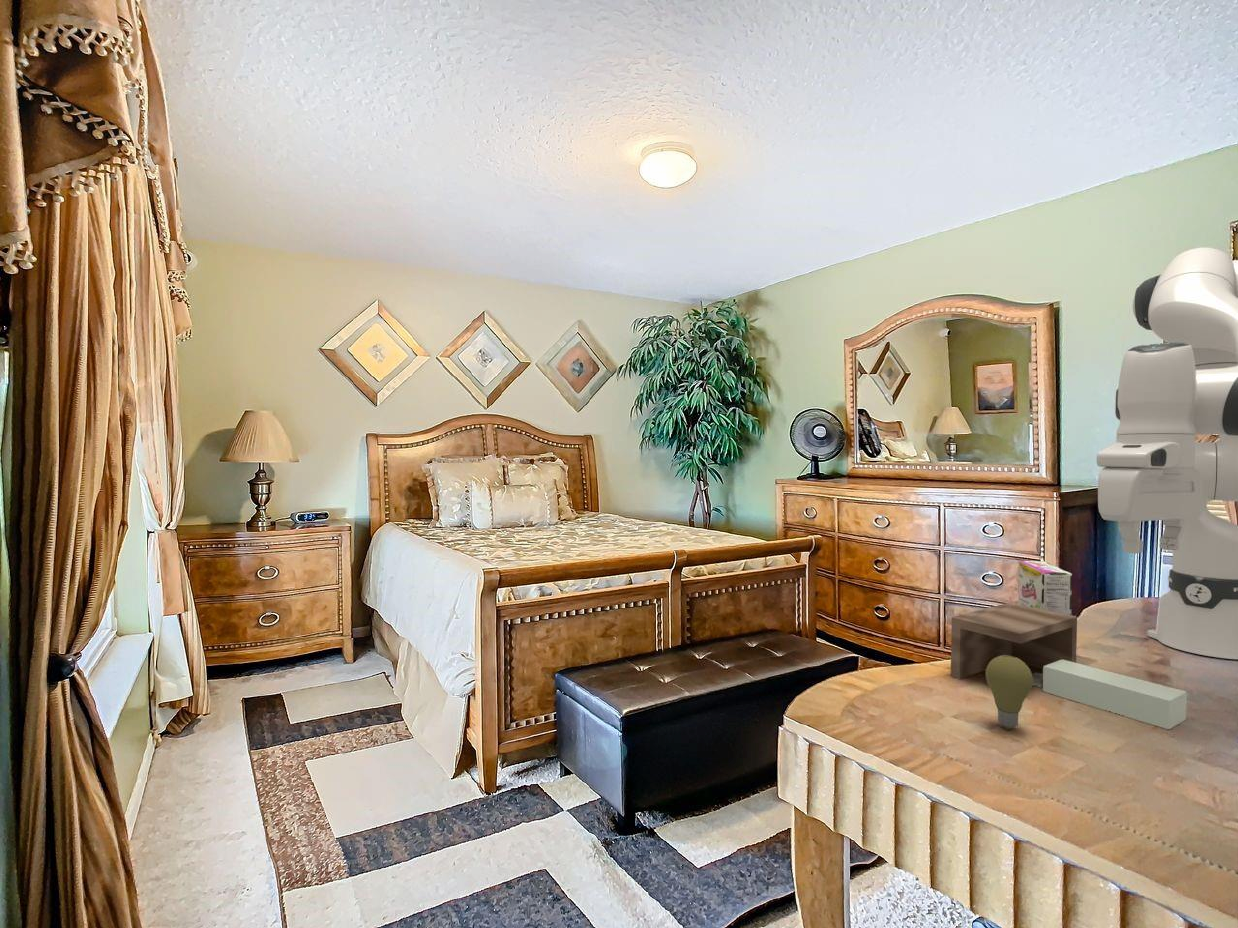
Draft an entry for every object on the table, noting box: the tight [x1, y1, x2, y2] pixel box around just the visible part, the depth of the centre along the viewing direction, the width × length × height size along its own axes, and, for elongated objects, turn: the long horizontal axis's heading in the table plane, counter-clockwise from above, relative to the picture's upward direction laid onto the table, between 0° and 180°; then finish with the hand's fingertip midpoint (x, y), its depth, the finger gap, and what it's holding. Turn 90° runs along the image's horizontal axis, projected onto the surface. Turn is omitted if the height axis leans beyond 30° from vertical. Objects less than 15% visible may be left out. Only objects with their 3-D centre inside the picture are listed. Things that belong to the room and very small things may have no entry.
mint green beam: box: [1042, 659, 1188, 730], centre depth 98 cm, size 6×16×4 cm, turn 32°
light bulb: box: [985, 655, 1034, 730], centre depth 90 cm, size 6×6×10 cm
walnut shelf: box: [950, 602, 1078, 688], centre depth 109 cm, size 18×11×10 cm, turn 122°
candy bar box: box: [1017, 560, 1073, 615], centre depth 120 cm, size 11×5×16 cm, turn 168°
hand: (1151, 551), depth 94 cm, fingers open, 8 cm apart
